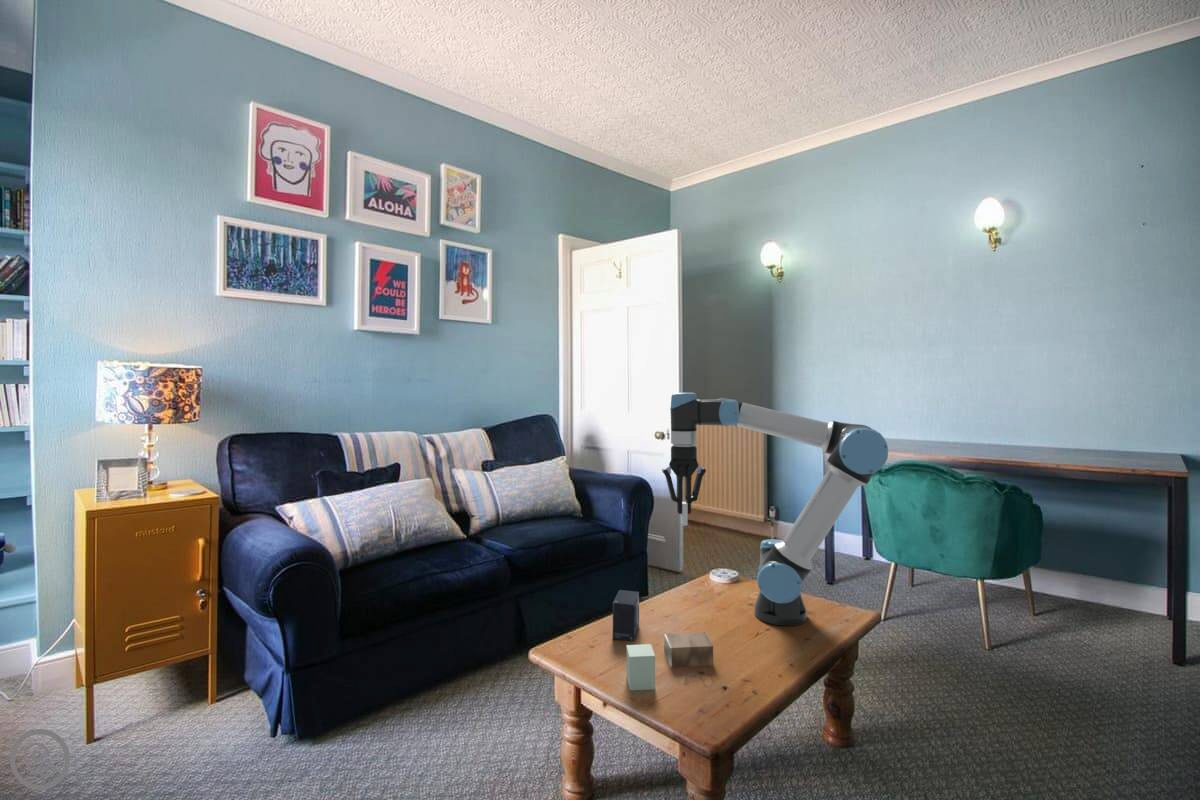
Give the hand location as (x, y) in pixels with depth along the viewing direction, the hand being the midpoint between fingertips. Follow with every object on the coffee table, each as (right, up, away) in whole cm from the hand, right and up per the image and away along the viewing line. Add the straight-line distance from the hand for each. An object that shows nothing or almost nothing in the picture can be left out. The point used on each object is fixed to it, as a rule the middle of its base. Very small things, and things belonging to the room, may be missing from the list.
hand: (684, 524), depth 172 cm
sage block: (-15, -31, -33) cm, 48 cm away
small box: (-17, -30, -5) cm, 35 cm away
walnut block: (-8, -28, -22) cm, 36 cm away
